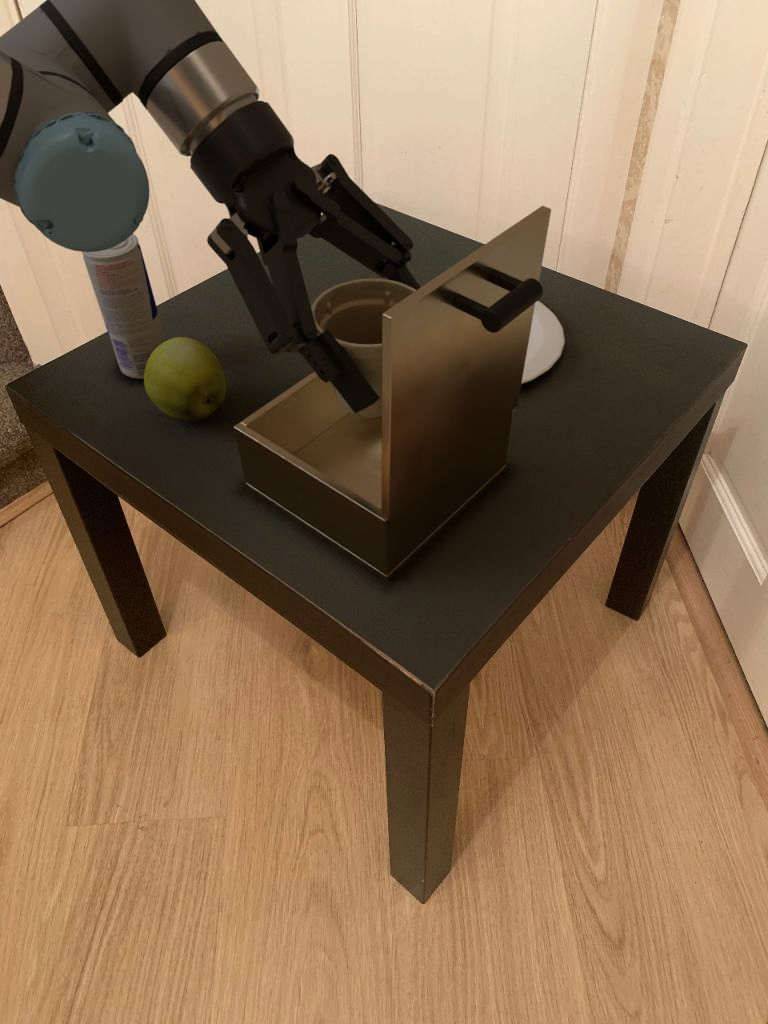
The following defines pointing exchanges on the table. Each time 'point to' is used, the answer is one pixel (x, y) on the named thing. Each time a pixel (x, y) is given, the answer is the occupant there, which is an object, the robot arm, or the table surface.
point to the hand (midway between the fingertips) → (403, 372)
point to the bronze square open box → (354, 476)
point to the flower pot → (360, 326)
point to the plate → (542, 343)
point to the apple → (184, 379)
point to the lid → (457, 357)
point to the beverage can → (126, 304)
